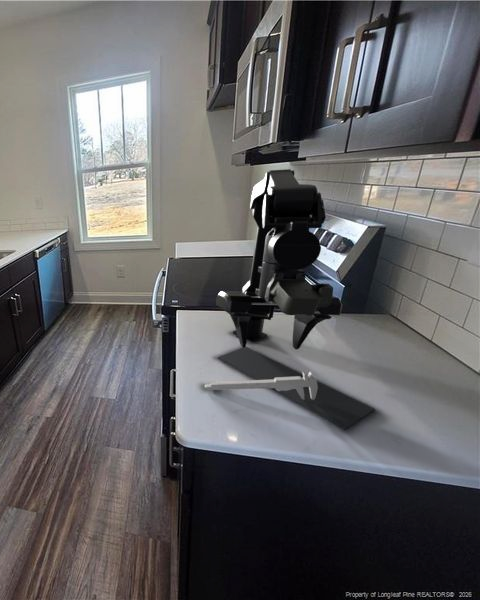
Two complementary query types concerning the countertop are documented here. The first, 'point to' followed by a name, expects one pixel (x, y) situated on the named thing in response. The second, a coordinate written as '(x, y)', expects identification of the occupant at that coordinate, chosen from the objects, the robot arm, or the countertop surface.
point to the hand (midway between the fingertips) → (269, 347)
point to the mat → (327, 399)
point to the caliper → (272, 384)
